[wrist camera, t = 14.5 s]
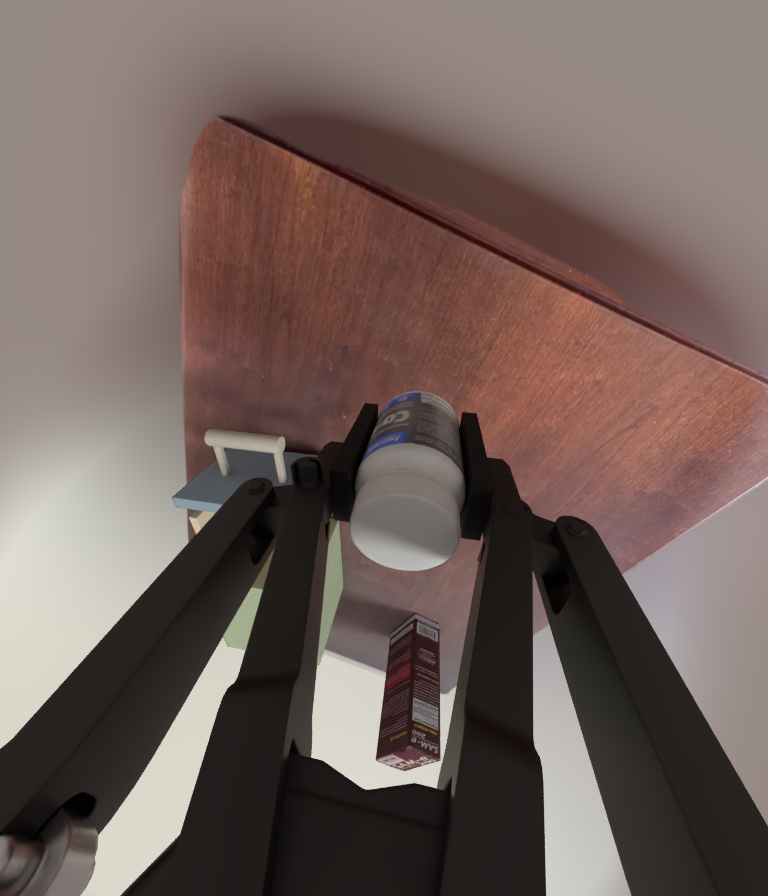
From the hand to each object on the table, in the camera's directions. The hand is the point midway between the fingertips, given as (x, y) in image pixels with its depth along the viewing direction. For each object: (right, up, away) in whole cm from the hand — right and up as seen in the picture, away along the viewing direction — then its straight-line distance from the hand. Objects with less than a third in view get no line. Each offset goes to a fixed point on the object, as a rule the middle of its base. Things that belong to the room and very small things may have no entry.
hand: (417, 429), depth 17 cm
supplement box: (+3, -31, +33) cm, 45 cm away
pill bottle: (0, 0, 0) cm, 1 cm away
